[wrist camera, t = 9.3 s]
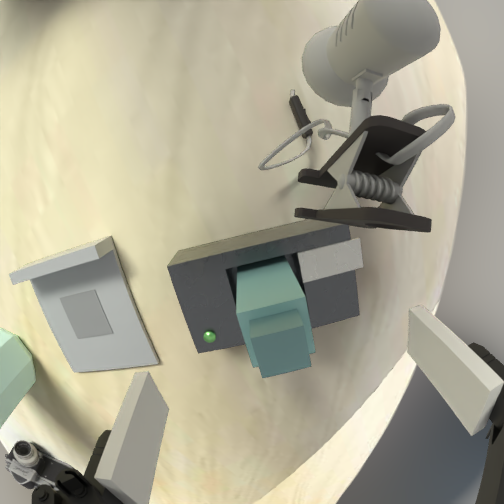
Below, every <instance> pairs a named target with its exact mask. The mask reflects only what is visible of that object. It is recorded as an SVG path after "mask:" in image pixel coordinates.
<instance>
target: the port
mask: <svg viewBox="0 0 504 504" xmlns="http://www.w3.org/2000/svg"><path fill="white" fill-rule="evenodd" d="M282 255H285V257H286V259H287V261H288V263H289V265H290V267H291V269H292V271H293V273H294V275H295V277H296V279H297V281H298V283H299V285H300V287H301V289H302V291H303V293H304V295H305V297H306V302H307V308H308V313H309V318H310V324H311V329H312V328H315V327H319V326H323V325H327V324H330V323H334V322H337V321H341V320H344V319H348V318H351V317H355V316H358V315H359V304H358V294H357V285H356V276H355V269H358V268H362V267H363V258H362V250H361V242H360V238H355V239H351V238H350V231H349V225H344V224H338V223H332V222H325V221H319V220H312V219H308V220H304V221H299V222H295V223H291V224H287V225H282V226H278V227H274V228H270V229H265V230H261V231H257V232H253V233H249V234H245V235H240V236H236V237H232V238H228V239H224V240H220V241H216V242H212V243H208V244H204V245H200V246H196V247H192V248H188V249H184V250H180V251H178V252H177V253H176V255H175V256H174V258H173V259H172V260H171V262H170V263H169V264H168V266H167V268H168V271H169V274H170V277H171V280H172V283H173V286H174V289H175V292H176V295H177V298H178V300H179V303H180V306H181V309H182V312H183V314H184V317H185V320H186V323H187V325H188V328H189V331H190V333H191V336H192V339H193V341H194V344H195V346H196V349H197V351H198V353H203V352H208V351H214V350H219V349H224V348H229V347H234V346H239V345H244V344H245V341H244V337H243V334H242V331H241V328H240V324H239V321H238V318H237V315H236V297H237V266H241V265H245V264H249V263H253V262H257V261H262V260H266V259H270V258H274V257H278V256H282Z"/></svg>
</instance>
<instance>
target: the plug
mask: <svg viewBox="0 0 504 504" xmlns="http://www.w3.org/2000/svg"><path fill="white" fill-rule="evenodd" d="M236 315H237V318H238V321H239V324H240V328H241V331H242V334H243V337H244V341H245V344H246V347H247V350H248V353H249V356H250V360H251V363H252V366H253V367H258V366H259V369H260V372H261V375H262V378H266V377H271V376H275V375H279V374H284V373H288V372H292V371H296V370H300V369H304V368H307V367H311V361H310V355H309V354H311V353H315V346H314V340H313V335H312V329H311V324H310V318H309V313H308V308H307V302H306V297H305V295H304V293H303V291H302V289H301V287H300V285H299V283H298V281H297V279H296V277H295V275H294V273H293V271H292V269H291V267H290V265H289V263H288V261H287V259H286V257H285V255H282V256H278V257H274V258H270V259H266V260H262V261H257V262H253V263H249V264H245V265H241V266H237V297H236Z"/></svg>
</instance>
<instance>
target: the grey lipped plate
mask: <svg viewBox="0 0 504 504" xmlns="http://www.w3.org/2000/svg"><path fill="white" fill-rule="evenodd" d="M9 276H10V278H11V281H12V284H13V285H14V284H17V283H20V282H24V281H27V280H30V281H31V284H32V286H33V289H34V291H35V294H36V296H37V299H38V301H39V304H40V306H41V308H42V310H43V313H44V315H45V317H46V319H47V322H48V324H49V326H50V328H51V330H52V332H53V334H54V336H55V338H56V340H57V342H58V344H59V346H60V348H61V350H62V352H63V354H64V356H65V357H66V359H67V361H68V363H69V365H70V367H71V368H72V370H73V372H87V371H99V370H110V369H120V368H129V367H138V366H146V365H154V364H158V363H159V359H158V357H157V354H156V352H155V350H154V348H153V346H152V343H151V341H150V339H149V336H148V334H147V332H146V329H145V327H144V325H143V322H142V320H141V317H140V315H139V313H138V310H137V308H136V305H135V302H134V300H133V297H132V295H131V292H130V289H129V287H128V284H127V281H126V278H125V276H124V273H123V270H122V267H121V264H120V261H119V258H118V255H117V252H116V249H115V246H114V243H113V240H112V237H111V236H109V237H105V238H102V239H99V240H96V241H93V242H90V243H86V244H83V245H80V246H77V247H74V248H71V249H68V250H65V251H62V252H59V253H56V254H53V255H51V256H48V257H45V258H42V259H39V260H36V261H33V262H31V263H28V264H26V265H24V266H22V267H21V268H19V269H17V270H15V271H13V272H12V273H10V274H9Z"/></svg>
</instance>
